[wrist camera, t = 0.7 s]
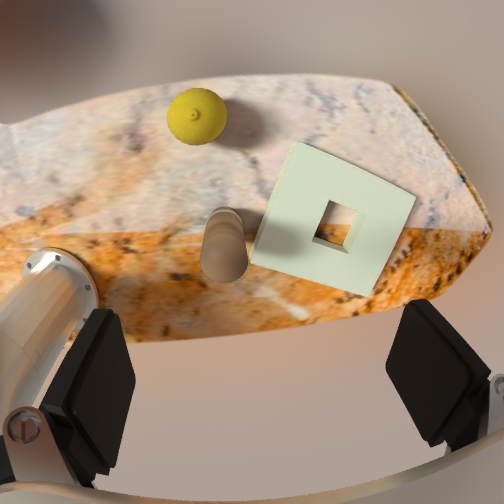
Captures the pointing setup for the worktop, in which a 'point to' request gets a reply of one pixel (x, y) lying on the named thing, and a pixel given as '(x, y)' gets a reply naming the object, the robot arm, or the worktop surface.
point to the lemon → (197, 116)
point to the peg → (223, 246)
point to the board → (311, 211)
